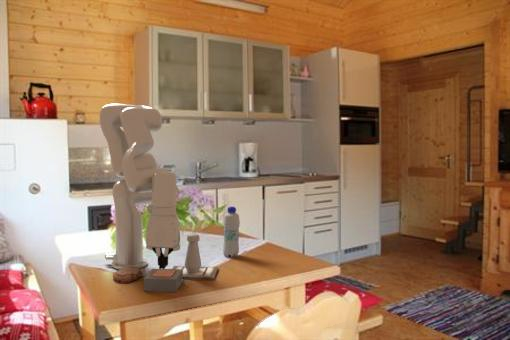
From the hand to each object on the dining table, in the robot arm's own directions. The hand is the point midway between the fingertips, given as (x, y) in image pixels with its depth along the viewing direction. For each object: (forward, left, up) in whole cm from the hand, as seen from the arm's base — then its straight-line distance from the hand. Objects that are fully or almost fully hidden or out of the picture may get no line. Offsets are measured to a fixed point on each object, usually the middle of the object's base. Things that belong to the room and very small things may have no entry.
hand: (162, 267), depth 139 cm
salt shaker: (+7, +12, -5) cm, 15 cm away
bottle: (+19, +36, -6) cm, 41 cm away
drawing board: (+8, +12, -6) cm, 16 cm away
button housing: (+1, -1, -6) cm, 6 cm away
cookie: (-13, +6, -6) cm, 16 cm away
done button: (+1, -1, -5) cm, 5 cm away
